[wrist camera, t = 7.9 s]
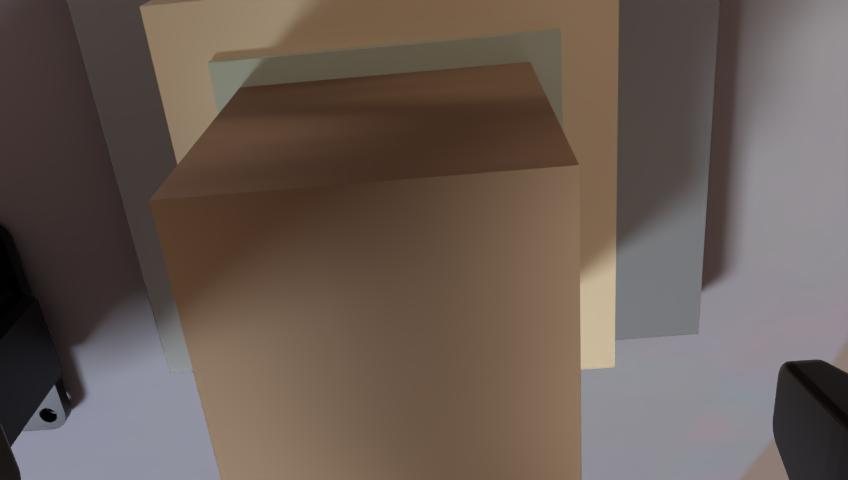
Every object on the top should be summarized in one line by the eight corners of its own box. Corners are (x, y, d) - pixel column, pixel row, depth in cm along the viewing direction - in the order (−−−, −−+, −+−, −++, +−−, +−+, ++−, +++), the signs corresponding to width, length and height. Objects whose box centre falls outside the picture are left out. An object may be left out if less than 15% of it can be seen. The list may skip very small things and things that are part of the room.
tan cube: (287, 332, 16) (232, 520, 12) (239, 86, 14) (149, 199, 9) (538, 314, 16) (581, 498, 11) (530, 62, 14) (579, 164, 9)
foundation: (184, 342, 23) (114, 483, 18) (64, -118, 18) (-84, -104, 13) (681, 304, 22) (757, 440, 17) (708, -184, 17) (827, -199, 12)
